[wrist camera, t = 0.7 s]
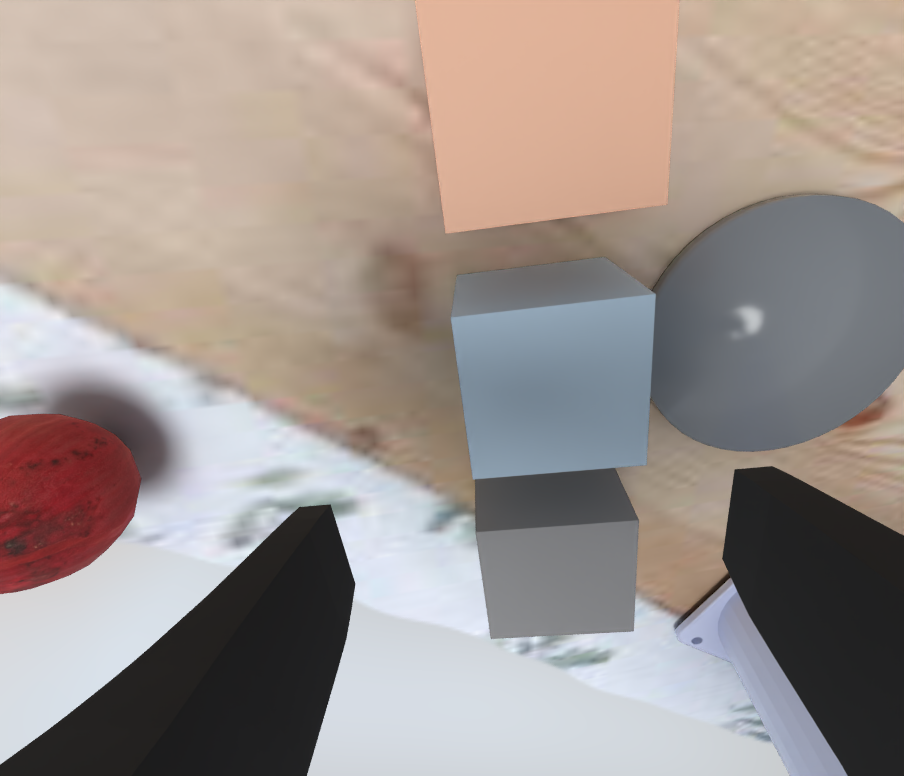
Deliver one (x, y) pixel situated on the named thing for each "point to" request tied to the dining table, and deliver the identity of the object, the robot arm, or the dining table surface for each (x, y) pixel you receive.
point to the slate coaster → (780, 322)
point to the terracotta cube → (548, 106)
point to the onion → (60, 497)
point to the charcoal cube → (557, 553)
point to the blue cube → (554, 367)
